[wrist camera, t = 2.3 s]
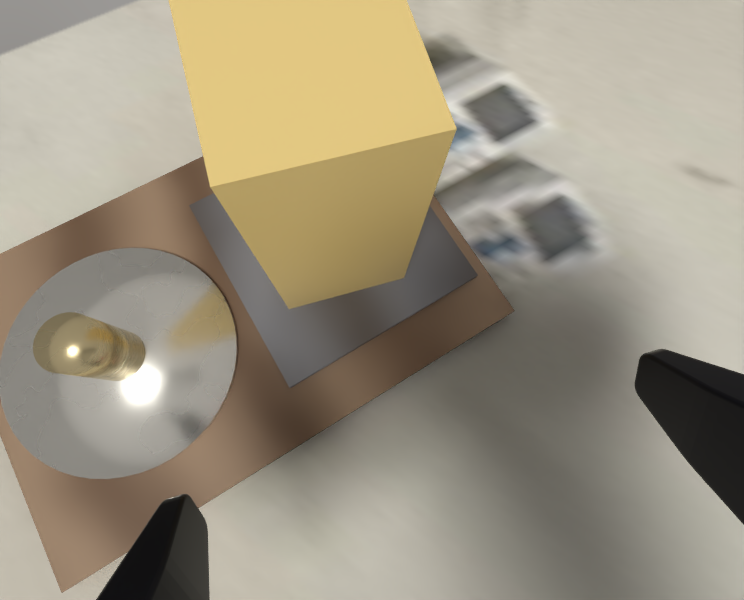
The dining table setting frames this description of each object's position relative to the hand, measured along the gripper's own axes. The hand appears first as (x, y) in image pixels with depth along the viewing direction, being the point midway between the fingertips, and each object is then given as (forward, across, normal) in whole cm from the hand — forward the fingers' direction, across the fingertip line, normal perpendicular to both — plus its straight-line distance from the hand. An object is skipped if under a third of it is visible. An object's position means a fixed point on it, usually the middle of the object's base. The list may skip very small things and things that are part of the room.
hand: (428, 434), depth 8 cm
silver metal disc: (+14, +11, +4) cm, 18 cm away
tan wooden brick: (+16, 0, +2) cm, 16 cm away
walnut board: (+15, +6, +4) cm, 17 cm away
